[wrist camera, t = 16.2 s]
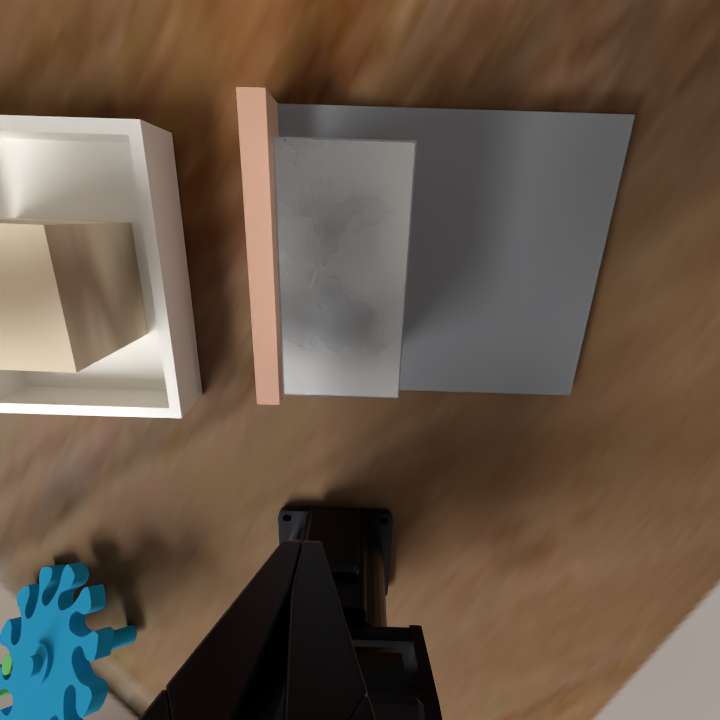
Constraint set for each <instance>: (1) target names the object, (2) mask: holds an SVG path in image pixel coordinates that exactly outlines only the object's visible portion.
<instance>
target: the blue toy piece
mask: <svg viewBox="0 0 720 720" xmlns="http://www.w3.org/2000/svg"><path fill="white" fill-rule="evenodd" d="M88 577H89V570H88V568H87V567H86V566H85V564H84V563H82V562H79V563H72V564H67V565H66V566H65V565H55V566H49V567H43V568H42V569H41V571H40V575H39V583H38V584H32V585H27V586H25V587H24V588H23V589H22V590H21V591H20V592H19V593H18V596H17V603H18V606H19V608H20V611H21V617H19V618H15V619H10V620H8V621H7V622H6V624H5V625H4V627H3V629H2V632H1V634H0V643H1V644H2V645H4V646H6V647H7V648H8V650H9V652H10V654H7V655H6V656H5V658H4V659H3V662H2V664H1V665H0V697H3V696H5V695H8V694H12V697H13V705H12V706H10V707H7V708H4V709H2V710H0V720H83V719H82V718H83V717H85V716H87V715H89V714H92V713H94V712H96V711H98V710H99V709H100V708H101V706H102V704H103V703H104V700H105V698H106V696H107V693H108V685H107V683H106V681H105V680H104V679H100V678H99V677H97V676H96V675H95V674H94V672H93V670H92V668H91V666H90V663H89V661H90V662H91V661H94V660H97V659H100V658H103V657H105V656H108V655H110V653H111V650H113V649H116V648H119V647H122V646H124V645H127V644H130V643H133V642H134V641H135V639H136V635H137V630H136V627H135V626H134V625H130V626H127V627H124V628H121V629H117V630H113V629H112V628H111V627H107V628H103V629H100V630H97V631H91V630H90V629H88V628H87V627H86V625H85V614H88V613H92V612H96V611H100V610H102V609H103V608H104V607H105V605H106V595H105V590H104V586H103V584H100V585H95V586H90V587H86V588H84V589H83V590H82V591H81V593H80V595H79V597H78V599H77V600H76V601H75V603H74V602H73V596H74V593H75V590H76V589H77V588H78V587H80V586H82V585H84V584H85V583H86V582H87V580H88Z"/></svg>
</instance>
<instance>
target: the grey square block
mask: <svg viewBox="0 0 720 720" xmlns="http://www.w3.org/2000/svg"><path fill="white" fill-rule="evenodd" d="M416 145H417V141H409V140H377V139H345V138H313V137H281V136H273V157H274V181H275V206H276V230H277V255H278V279H279V304H280V329H281V353H282V378H283V395H293V396H325V397H358V398H390V399H399V390H400V376H401V361H402V347H403V333H404V318H405V304H406V289H407V275H408V261H409V246H410V232H411V217H412V203H413V189H414V174H415V160H416Z"/></svg>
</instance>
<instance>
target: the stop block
mask: <svg viewBox="0 0 720 720" xmlns="http://www.w3.org/2000/svg"><path fill="white" fill-rule="evenodd" d="M147 334H148V328H147V321H146V315H145V308H144V302H143V295H142V289H141V282H140V276H139V269H138V263H137V256H136V249H135V243H134V236H133V230H132V223H131V222H109V221H82V220H56V219H29V218H0V370H18V371H45V372H72V373H77V372H79V371H81V370H82V369H84V368H86V367H88V366H90V365H92V364H93V363H95V362H97V361H99V360H101V359H103V358H104V357H106V356H108V355H110V354H112V353H114V352H115V351H117V350H119V349H121V348H123V347H125V346H126V345H128V344H130V343H132V342H134V341H136V340H137V339H139V338H141V337H143V336H145V335H147Z"/></svg>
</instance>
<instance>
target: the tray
mask: <svg viewBox="0 0 720 720" xmlns="http://www.w3.org/2000/svg"><path fill="white" fill-rule="evenodd" d="M0 218H29V219H56V220H82V221H109V222H131V223H132V230H133V236H134V243H135V249H136V256H137V263H138V269H139V276H140V282H141V289H142V295H143V302H144V308H145V315H146V321H147V328H148V334H147V335H145V336H143V337H141V338H139V339H137V340H136V341H134V342H132V343H130V344H128V345H126V346H125V347H123V348H121V349H119V350H117V351H115V352H114V353H112V354H110V355H108V356H106V357H104V358H103V359H101V360H99V361H97V362H95V363H93V364H92V365H90V366H88V367H86V368H84V369H82V370H81V371H79V372H77V373H72V372H45V371H18V370H0V413H27V414H59V415H91V416H123V417H155V418H183V416H184V415H185V414H186V413H187V412H188V411H189V410H190V409H191V408H192V406H193V405H194V404H195V403H196V402H197V401H198V400H199V399H200V398H201V397H202V395H203V394H202V385H201V377H200V368H199V360H198V351H197V343H196V334H195V326H194V317H193V309H192V300H191V292H190V283H189V274H188V266H187V257H186V249H185V240H184V232H183V223H182V215H181V206H180V198H179V189H178V181H177V172H176V164H175V155H174V146H173V138H172V133H171V132H168V131H166V130H164V129H161V128H159V127H157V126H154V125H152V124H150V123H147V122H145V121H143V120H140V119H115V118H83V117H51V116H19V115H0Z"/></svg>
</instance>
